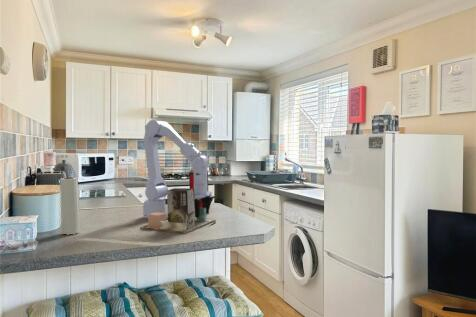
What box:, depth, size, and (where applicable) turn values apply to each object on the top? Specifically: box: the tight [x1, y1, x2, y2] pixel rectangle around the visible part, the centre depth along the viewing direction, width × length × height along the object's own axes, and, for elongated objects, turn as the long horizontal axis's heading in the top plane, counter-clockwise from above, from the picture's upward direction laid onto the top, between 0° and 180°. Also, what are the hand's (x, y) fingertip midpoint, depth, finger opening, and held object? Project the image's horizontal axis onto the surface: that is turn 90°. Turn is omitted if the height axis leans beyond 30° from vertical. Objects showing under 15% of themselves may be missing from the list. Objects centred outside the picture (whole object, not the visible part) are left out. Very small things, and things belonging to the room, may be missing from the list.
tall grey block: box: [59, 177, 80, 236], centre depth 131 cm, size 7×6×21 cm
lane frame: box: [139, 217, 216, 235], centre depth 139 cm, size 21×22×6 cm
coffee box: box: [166, 187, 196, 230], centre depth 133 cm, size 9×6×16 cm
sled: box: [159, 207, 212, 232], centre depth 138 cm, size 12×21×6 cm, turn 154°
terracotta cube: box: [147, 212, 167, 228], centre depth 136 cm, size 5×5×5 cm
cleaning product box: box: [188, 169, 210, 215], centre depth 172 cm, size 16×9×20 cm, turn 6°
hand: (201, 215), depth 146 cm, fingers open, 7 cm apart
